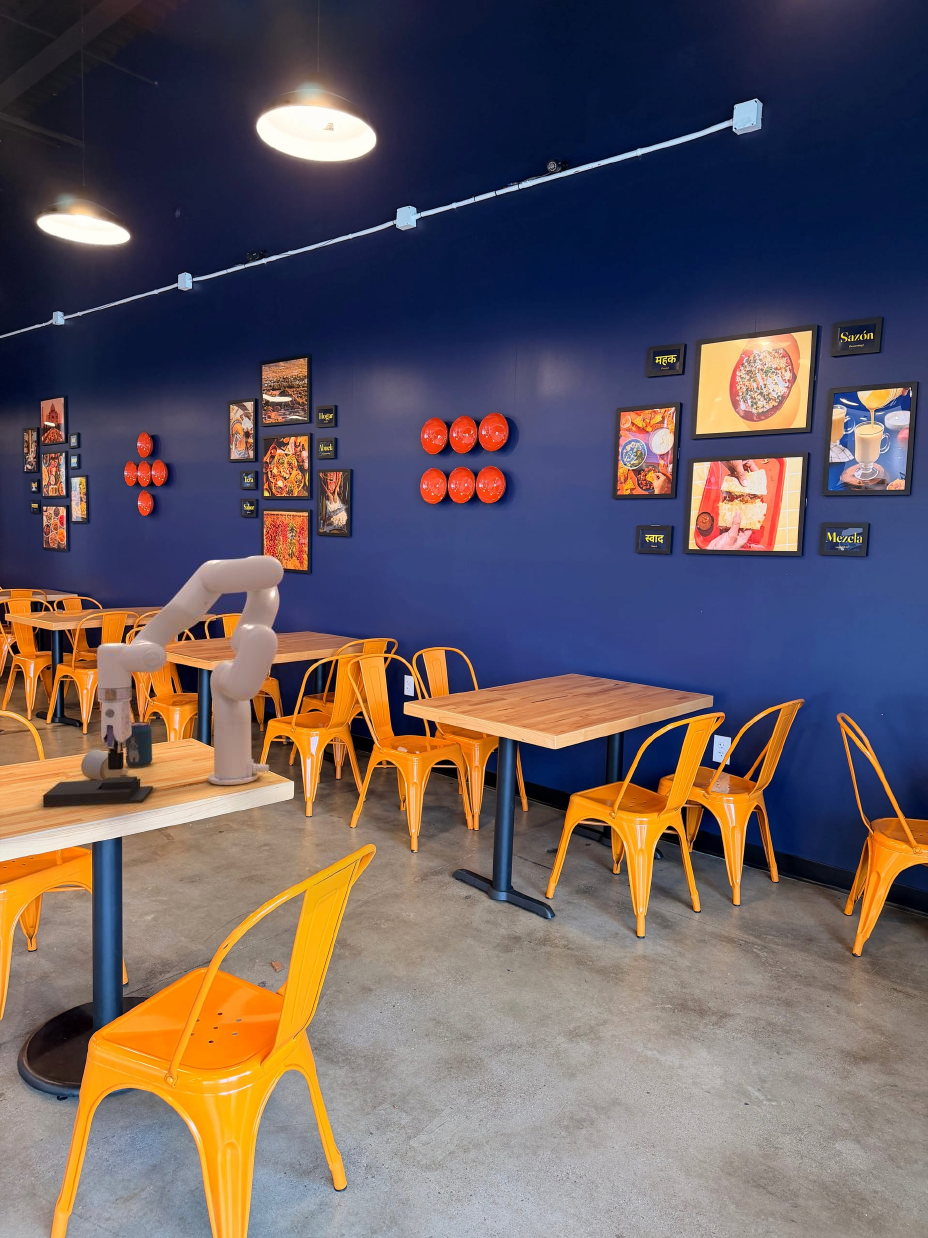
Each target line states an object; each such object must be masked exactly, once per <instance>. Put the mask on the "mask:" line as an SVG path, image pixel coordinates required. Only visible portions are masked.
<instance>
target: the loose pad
mask: <svg viewBox="0 0 928 1238" xmlns="http://www.w3.org/2000/svg"><path fill="white" fill-rule="evenodd" d="M137 779H138V776H137V775H135V776H134V775H133V776H119V777H109V778H106V779H105V780H104V781H103V782H102V790H104V789H128V788H132V796H133V795H134V793H135V792H136V791H137Z"/></svg>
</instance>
